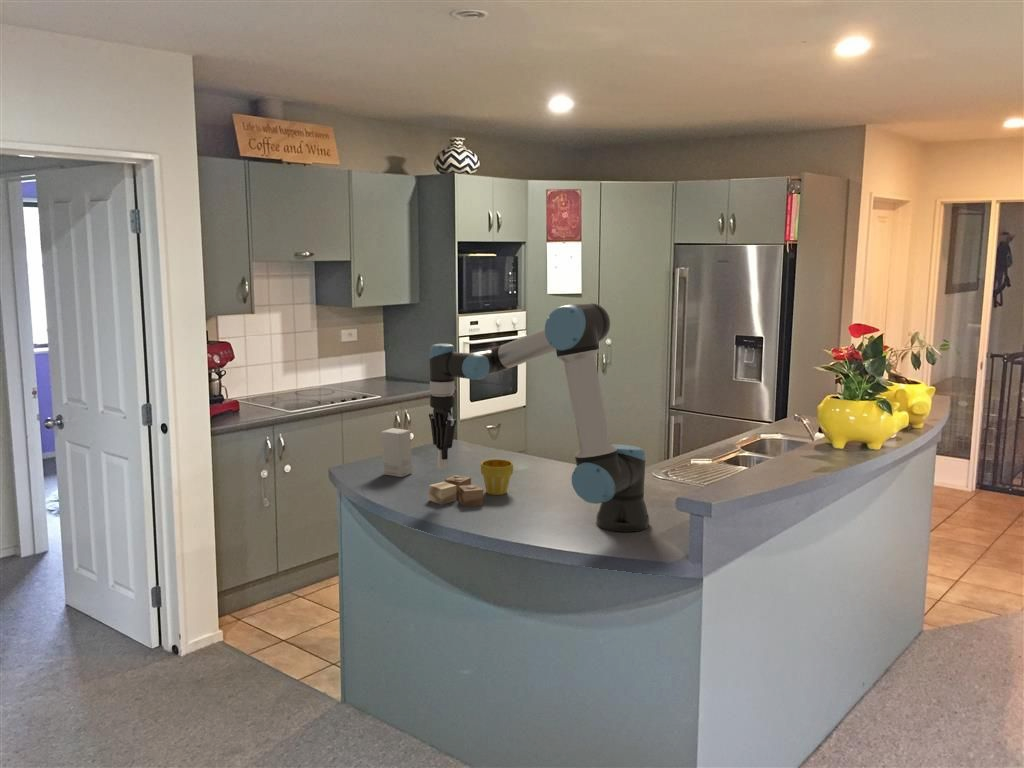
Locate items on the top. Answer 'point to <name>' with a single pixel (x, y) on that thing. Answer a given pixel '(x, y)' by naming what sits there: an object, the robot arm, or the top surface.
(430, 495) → the plain block
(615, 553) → the top surface
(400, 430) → the skincare box
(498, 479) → the plant pot
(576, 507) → the top surface
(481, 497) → the marked block
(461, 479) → the marked block
